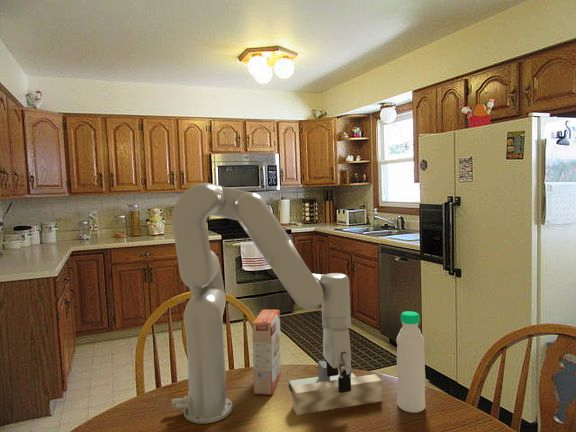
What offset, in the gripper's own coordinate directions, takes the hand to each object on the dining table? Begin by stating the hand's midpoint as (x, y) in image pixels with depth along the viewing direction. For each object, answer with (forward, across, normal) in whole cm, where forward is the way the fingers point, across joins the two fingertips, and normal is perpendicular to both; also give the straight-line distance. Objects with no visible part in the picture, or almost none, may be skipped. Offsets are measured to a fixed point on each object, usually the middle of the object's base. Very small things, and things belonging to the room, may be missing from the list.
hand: (338, 383), depth 111 cm
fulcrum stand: (+6, -12, 0) cm, 13 cm away
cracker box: (+6, -17, -16) cm, 24 cm away
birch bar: (+6, 0, 0) cm, 6 cm away
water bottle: (+6, +6, +18) cm, 20 cm away
